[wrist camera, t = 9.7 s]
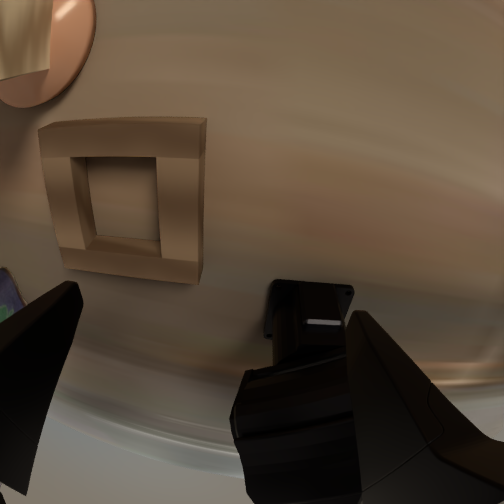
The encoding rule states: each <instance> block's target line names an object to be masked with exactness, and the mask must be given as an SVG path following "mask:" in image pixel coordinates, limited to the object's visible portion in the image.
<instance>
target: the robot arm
mask: <svg viewBox="0 0 504 504" xmlns="http://www.w3.org/2000/svg"><path fill="white" fill-rule="evenodd" d="M277 285H280V287H277ZM347 291H349V292H347ZM354 292H355V291H354V288H353V286H351V285H343V284H330V283H318V282H305V281H294V280H282V279H277V280H274V281H273V283H272V287H271V293H270V298H269V304H268V310H267V316H266V322H265V327H264V338H266V339H270V340H272V343H273V366H270V367H265V368H261V369H257V370H253V369H251V370H246V371H245V373H244V376H243V379H242V381H241V384H240V387H239V390H238V393H237V396H236V398H235V401H234V404H233V407H232V410H231V414H230V418H229V420H230V424H231V431H232V435H233V439H234V444H235V446H236V448H237V451H238V453H239V455H240V459H241V462H242V466H243V471H244V478H245V485H246V492H247V494H248V496H249V497H250V498H251V500H252V501H253V503H254V504H504V442H501V441H497V440H494V439H491V438H489V437H488V436H486V435H485V434H483V433H482V432H481V431H480V430H479V429H478V428H477V427H476V426H475V425H474V424H473V423H472V422H470V421H469V420H468V419H467V418H466V417H465V416H464V415H463V414H462V413H461V412H460V411H459V410H458V409H457V408H456V407H455V406H454V405H453V404H452V403H451V402H450V401H449V400H448V399H447V398H446V397H445V396H444V395H443V394H442V393H441V392H440V390H439V389H438V388H437V387H436V386H435V385H434V384H433V383H431V380H430V379H429V378H428V377H427V376H426V375H425V374H424V373H423V372H422V370H421V369H420V368H419V367H418V366H417V365H416V364H415V363H414V362H413V360H412V359H411V358H410V357H409V356H408V355H407V354H406V353H405V352H404V351H403V350H402V348H401V347H400V346H399V345H398V344H397V343H396V342H395V341H394V340H393V339H392V338H391V337H390V335H389V334H388V333H387V332H386V331H385V330H384V329H383V328H382V327H381V326H380V325H379V324H378V323H377V322H376V321H375V319H374V318H373V317H372V316H371V315H370V314H369V313H368V312H367V311H364V310H355V311H353V312H352V315H351V317H350V320H349V322H348V325H347V327H346V326H345V322H344V319H345V316H346V314H347V311H348V309H349V306H350V304H351V301H352V298H353V296H354ZM82 309H83V298H82V295H81V292H80V289H79V286H78V284H77V282H73V281H65V282H63V283H61V284H60V285H58V286H56V287H55V288H53V289H52V290H50V291H48V292H47V293H45V294H44V295H42V296H40V297H39V298H37V299H36V300H34V301H33V302H31V303H29V304H28V305H26V306H25V307H23V308H22V309H20V310H19V311H17V312H16V313H14V314H13V315H11V316H10V317H8V318H7V319H5V320H4V321H2V322H1V323H0V487H1V484H2V483H3V484H5V485H7V486H8V487H10V488H12V489H14V490H16V491H17V492H19V493H21V494H23V495H25V496H26V494H27V491H28V486H29V481H30V476H31V472H32V467H33V463H34V459H35V455H36V451H37V447H38V446H37V445H38V443H39V439H40V436H41V432H42V429H43V425H44V422H45V419H46V415H47V412H48V409H49V406H50V403H51V400H52V397H53V394H54V391H55V388H56V385H57V382H58V379H59V376H60V374H61V371H62V368H63V366H64V363H65V360H66V358H67V355H68V352H69V350H70V347H71V345H72V341H73V338H74V335H75V331H76V328H77V325H78V321H79V318H80V315H81V312H82ZM0 504H6V503H5V500H4V498H3V495H2V493H1V492H0Z"/></svg>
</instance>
